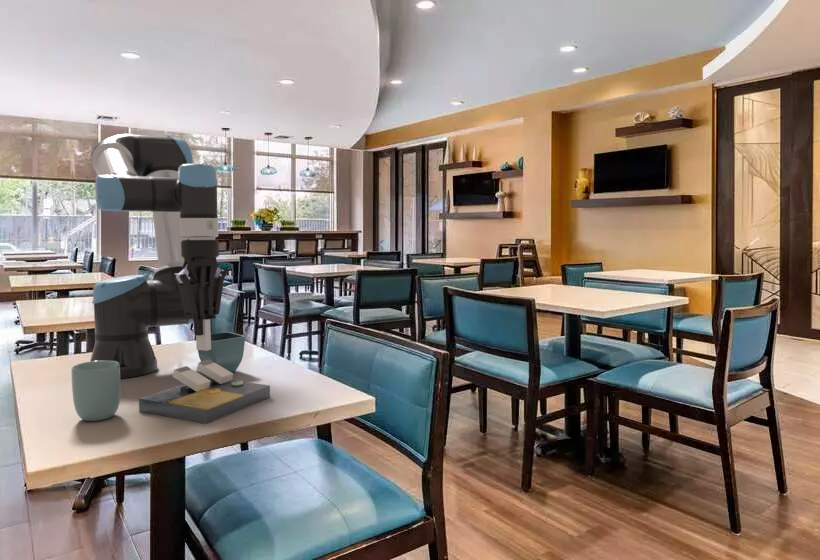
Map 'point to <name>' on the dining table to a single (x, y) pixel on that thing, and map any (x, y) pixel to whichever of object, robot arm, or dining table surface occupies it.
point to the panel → (204, 400)
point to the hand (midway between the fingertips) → (203, 349)
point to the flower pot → (225, 350)
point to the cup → (96, 389)
